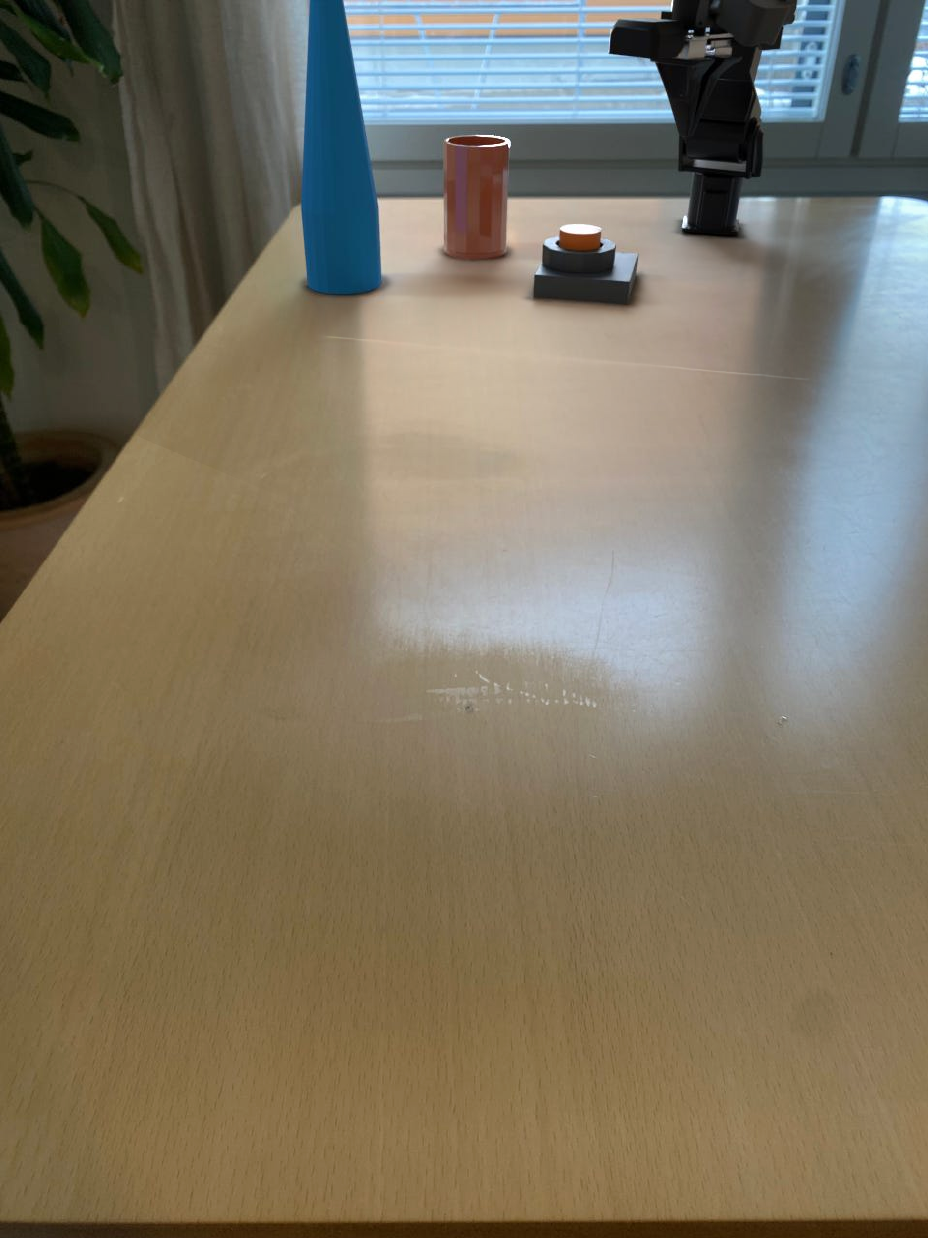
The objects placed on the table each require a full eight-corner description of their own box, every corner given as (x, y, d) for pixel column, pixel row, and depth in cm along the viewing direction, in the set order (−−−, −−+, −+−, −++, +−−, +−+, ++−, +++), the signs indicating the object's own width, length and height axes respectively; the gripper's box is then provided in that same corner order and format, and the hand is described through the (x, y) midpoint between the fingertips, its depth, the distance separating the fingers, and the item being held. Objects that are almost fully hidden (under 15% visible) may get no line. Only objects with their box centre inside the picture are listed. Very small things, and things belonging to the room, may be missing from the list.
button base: (549, 269, 98) (551, 228, 96) (636, 275, 97) (640, 234, 94) (533, 297, 90) (535, 254, 88) (627, 305, 89) (632, 261, 86)
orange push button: (561, 241, 94) (563, 222, 92) (602, 244, 93) (603, 225, 92) (555, 251, 90) (556, 232, 89) (597, 254, 90) (599, 235, 89)
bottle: (370, 296, 90) (352, -104, 73) (297, 291, 91) (262, -105, 74) (389, 275, 96) (376, -100, 79) (320, 271, 97) (292, -100, 80)
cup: (436, 245, 106) (436, 136, 99) (494, 241, 107) (497, 133, 101) (454, 261, 100) (454, 147, 94) (514, 256, 102) (518, 144, 96)
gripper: (712, -55, 76) (684, 158, 85) (848, -54, 85) (809, 138, 94) (613, -56, 83) (597, 140, 92) (748, -55, 92) (721, 123, 101)
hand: (685, 136), depth 95 cm, fingers closed
